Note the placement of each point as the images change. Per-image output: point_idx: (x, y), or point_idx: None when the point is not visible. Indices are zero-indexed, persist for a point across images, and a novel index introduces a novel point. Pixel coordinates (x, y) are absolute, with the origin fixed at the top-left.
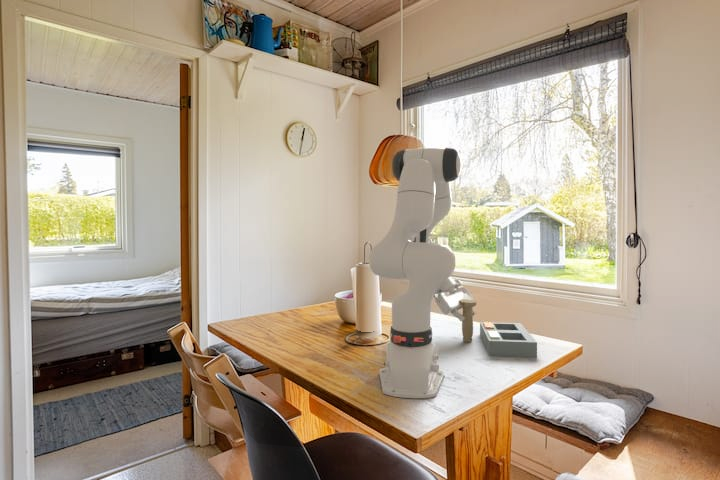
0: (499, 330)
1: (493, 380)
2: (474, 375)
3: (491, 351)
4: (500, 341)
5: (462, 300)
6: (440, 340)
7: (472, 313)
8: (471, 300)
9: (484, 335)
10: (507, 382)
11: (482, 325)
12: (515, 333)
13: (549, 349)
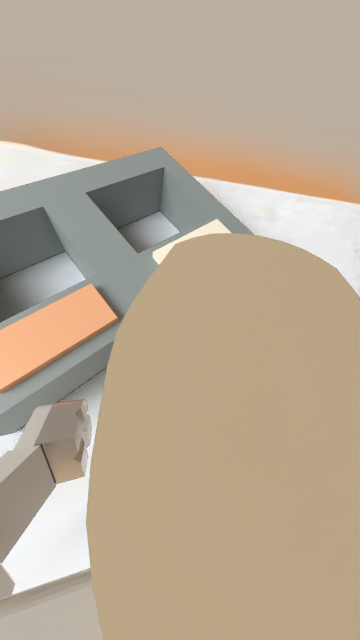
0: (102, 262)
1: (334, 220)
2: (351, 250)
3: None
4: (234, 217)
5: (358, 627)
6: None
7: (80, 426)
8: (142, 381)
9: None
10: (318, 202)
11: (55, 371)
12: (97, 208)
13: None
